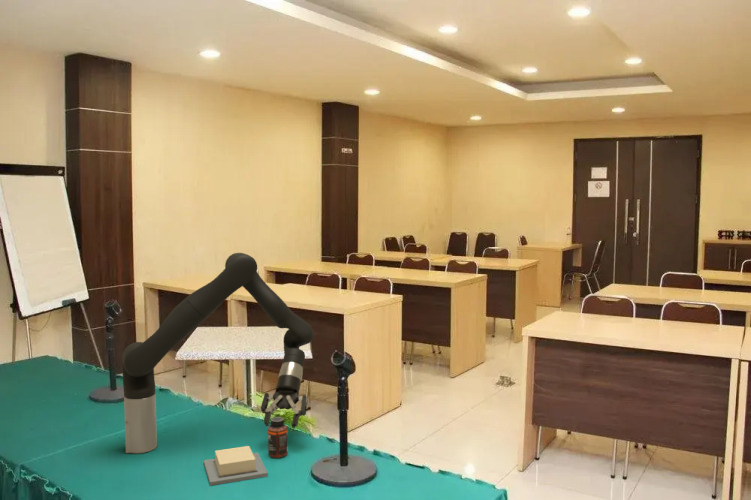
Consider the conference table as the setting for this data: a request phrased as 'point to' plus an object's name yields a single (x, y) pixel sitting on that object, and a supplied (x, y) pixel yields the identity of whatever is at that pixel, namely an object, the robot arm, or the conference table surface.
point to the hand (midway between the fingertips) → (279, 426)
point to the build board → (234, 478)
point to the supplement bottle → (277, 438)
